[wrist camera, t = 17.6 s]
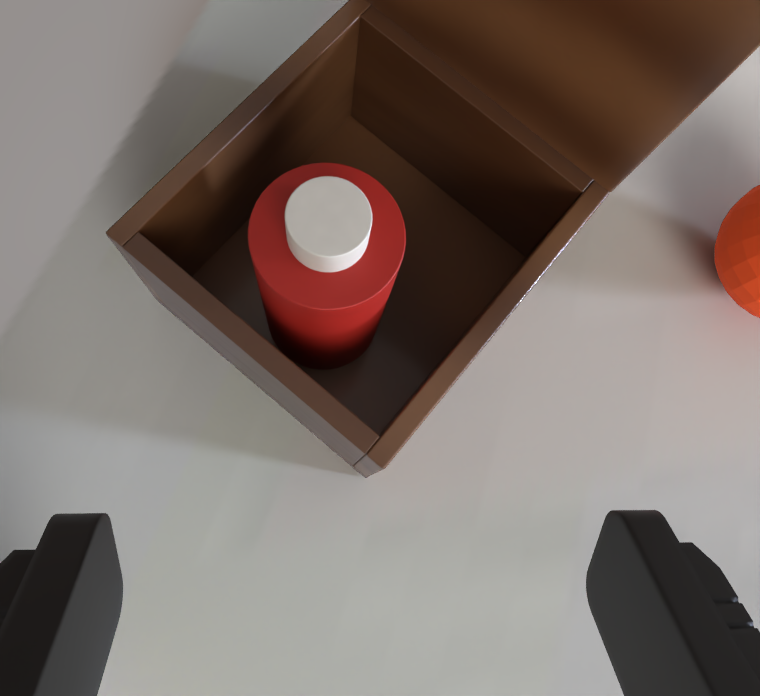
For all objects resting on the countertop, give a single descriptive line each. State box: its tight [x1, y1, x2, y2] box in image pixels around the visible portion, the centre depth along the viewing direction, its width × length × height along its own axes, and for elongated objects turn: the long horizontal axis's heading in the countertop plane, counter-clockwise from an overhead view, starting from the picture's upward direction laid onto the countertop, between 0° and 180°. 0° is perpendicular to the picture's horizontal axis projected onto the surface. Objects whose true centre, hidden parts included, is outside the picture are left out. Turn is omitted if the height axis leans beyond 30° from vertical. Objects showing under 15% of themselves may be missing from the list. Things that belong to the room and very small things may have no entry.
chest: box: [106, 0, 609, 478], centre depth 28 cm, size 14×13×8 cm
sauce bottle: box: [248, 163, 406, 370], centre depth 25 cm, size 5×5×11 cm
